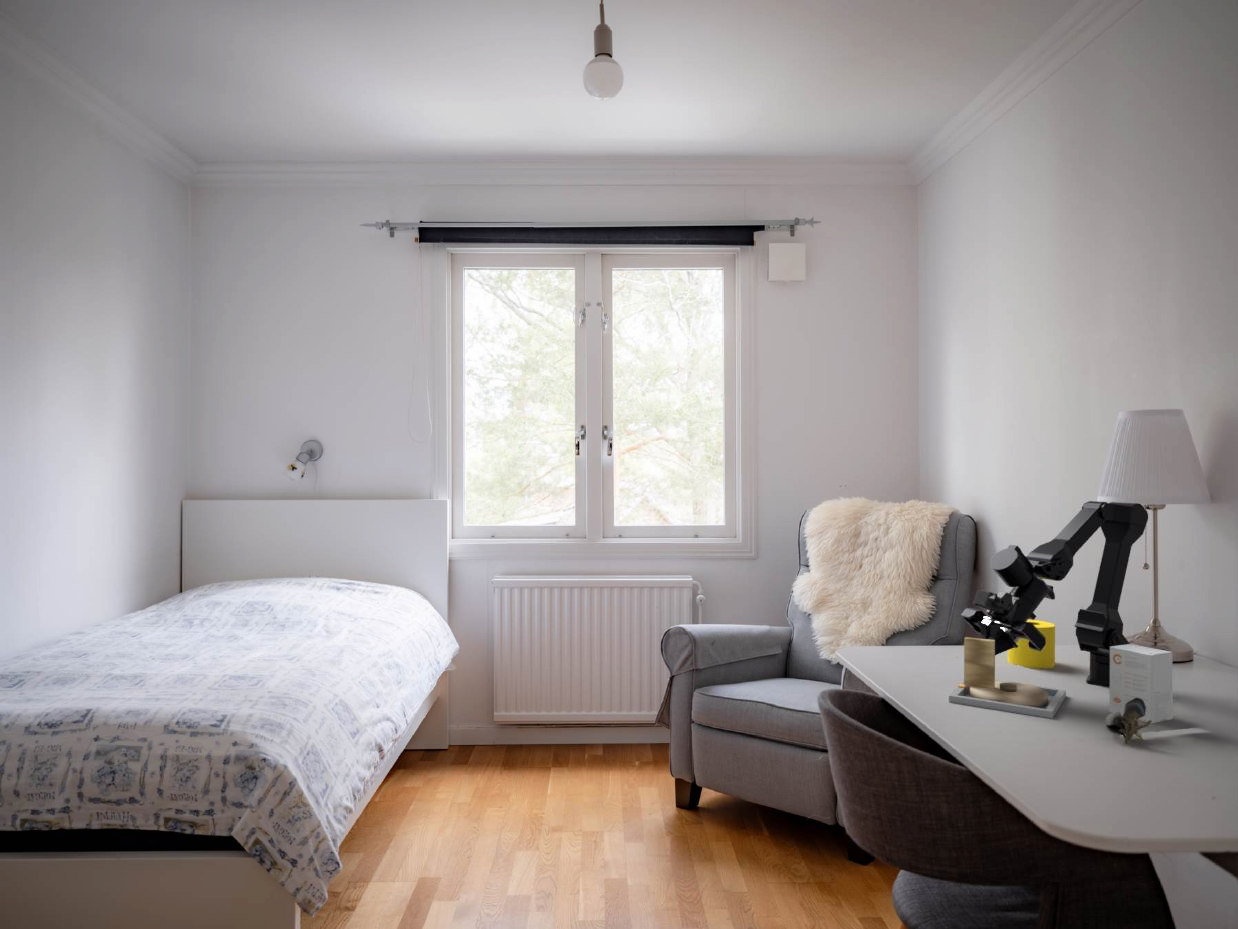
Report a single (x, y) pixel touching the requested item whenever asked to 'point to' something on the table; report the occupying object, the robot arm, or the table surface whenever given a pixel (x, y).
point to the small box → (1142, 680)
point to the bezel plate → (1048, 711)
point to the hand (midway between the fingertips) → (977, 660)
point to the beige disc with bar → (983, 677)
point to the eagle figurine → (1129, 718)
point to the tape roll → (1033, 657)
